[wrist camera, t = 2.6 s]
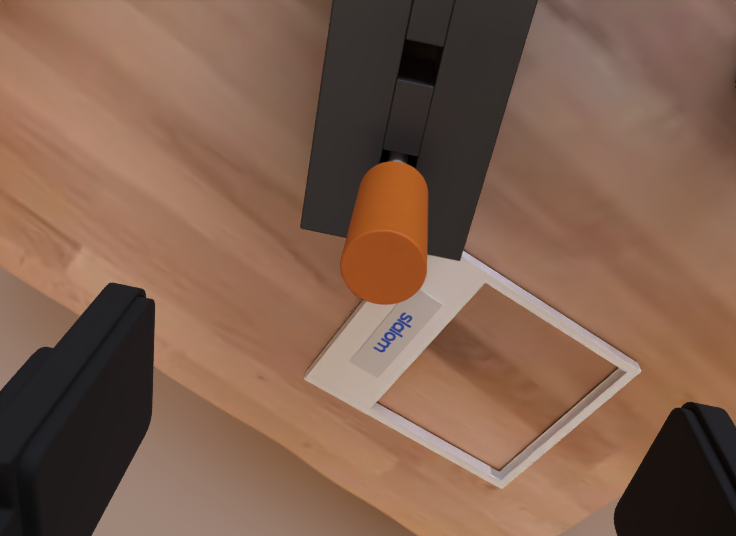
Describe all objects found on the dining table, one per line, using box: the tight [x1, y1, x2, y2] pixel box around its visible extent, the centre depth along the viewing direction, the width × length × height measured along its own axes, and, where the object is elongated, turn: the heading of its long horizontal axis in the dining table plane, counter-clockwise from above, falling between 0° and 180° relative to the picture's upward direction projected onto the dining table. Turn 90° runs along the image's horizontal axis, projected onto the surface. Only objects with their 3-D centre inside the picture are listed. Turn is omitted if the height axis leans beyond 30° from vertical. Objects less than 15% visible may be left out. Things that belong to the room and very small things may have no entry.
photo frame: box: [304, 251, 641, 489], centre depth 45 cm, size 15×1×18 cm
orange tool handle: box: [340, 151, 428, 305], centre depth 30 cm, size 3×3×16 cm
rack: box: [300, 0, 538, 261], centre depth 32 cm, size 9×19×6 cm, turn 170°
